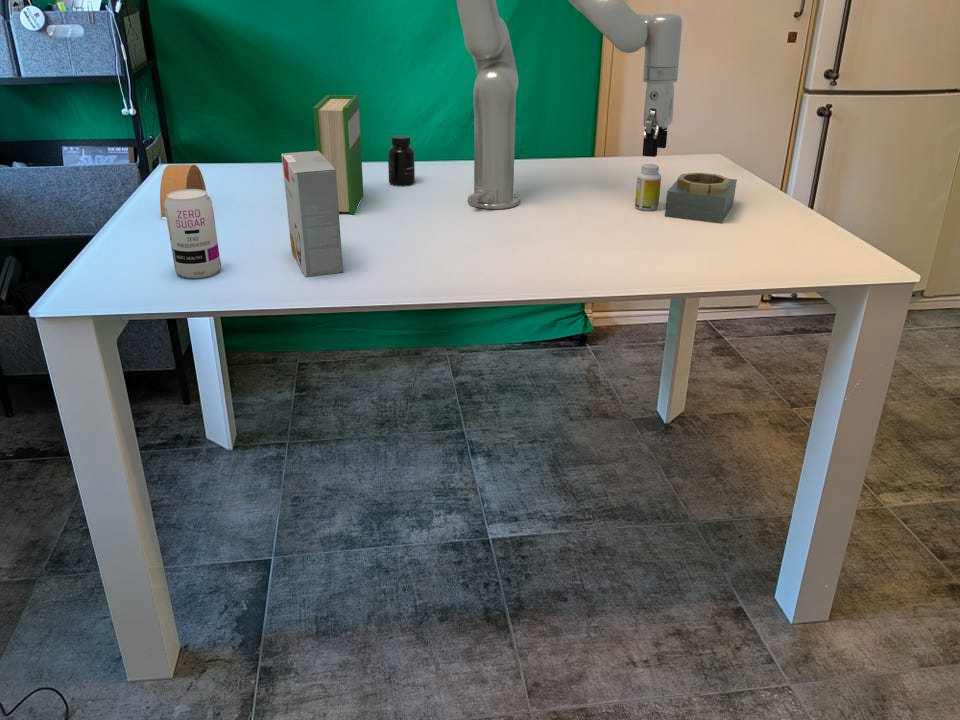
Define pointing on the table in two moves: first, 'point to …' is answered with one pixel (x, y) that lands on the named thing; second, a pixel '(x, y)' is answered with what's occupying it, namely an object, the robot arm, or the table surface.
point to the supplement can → (192, 233)
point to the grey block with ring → (700, 197)
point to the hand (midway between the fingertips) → (654, 151)
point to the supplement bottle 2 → (648, 188)
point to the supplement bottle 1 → (401, 161)
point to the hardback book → (341, 145)
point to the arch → (179, 181)
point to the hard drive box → (313, 212)
